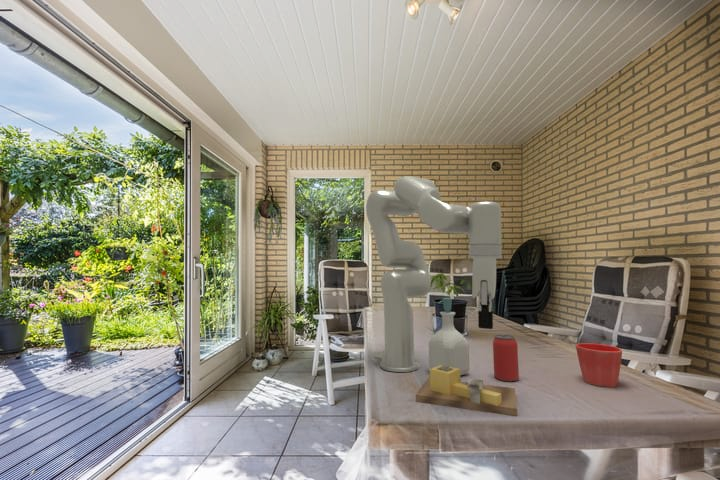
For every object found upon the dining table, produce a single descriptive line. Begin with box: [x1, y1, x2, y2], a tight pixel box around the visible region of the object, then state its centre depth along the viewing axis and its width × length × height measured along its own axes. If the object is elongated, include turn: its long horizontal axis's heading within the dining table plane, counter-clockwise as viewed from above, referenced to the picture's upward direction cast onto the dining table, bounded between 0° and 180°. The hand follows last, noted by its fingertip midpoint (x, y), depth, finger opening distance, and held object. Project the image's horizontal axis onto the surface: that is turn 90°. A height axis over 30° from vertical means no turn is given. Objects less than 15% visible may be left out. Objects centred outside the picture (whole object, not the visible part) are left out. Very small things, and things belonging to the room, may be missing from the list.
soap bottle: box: [428, 297, 470, 377], centre depth 105 cm, size 10×10×23 cm
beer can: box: [492, 334, 520, 383], centre depth 99 cm, size 7×7×12 cm
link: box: [429, 365, 502, 406], centre depth 81 cm, size 16×5×5 cm, turn 45°
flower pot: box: [575, 342, 623, 388], centre depth 95 cm, size 11×11×10 cm
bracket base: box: [415, 365, 518, 417], centre depth 84 cm, size 22×14×7 cm, turn 67°
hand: (485, 327), depth 83 cm, fingers closed
